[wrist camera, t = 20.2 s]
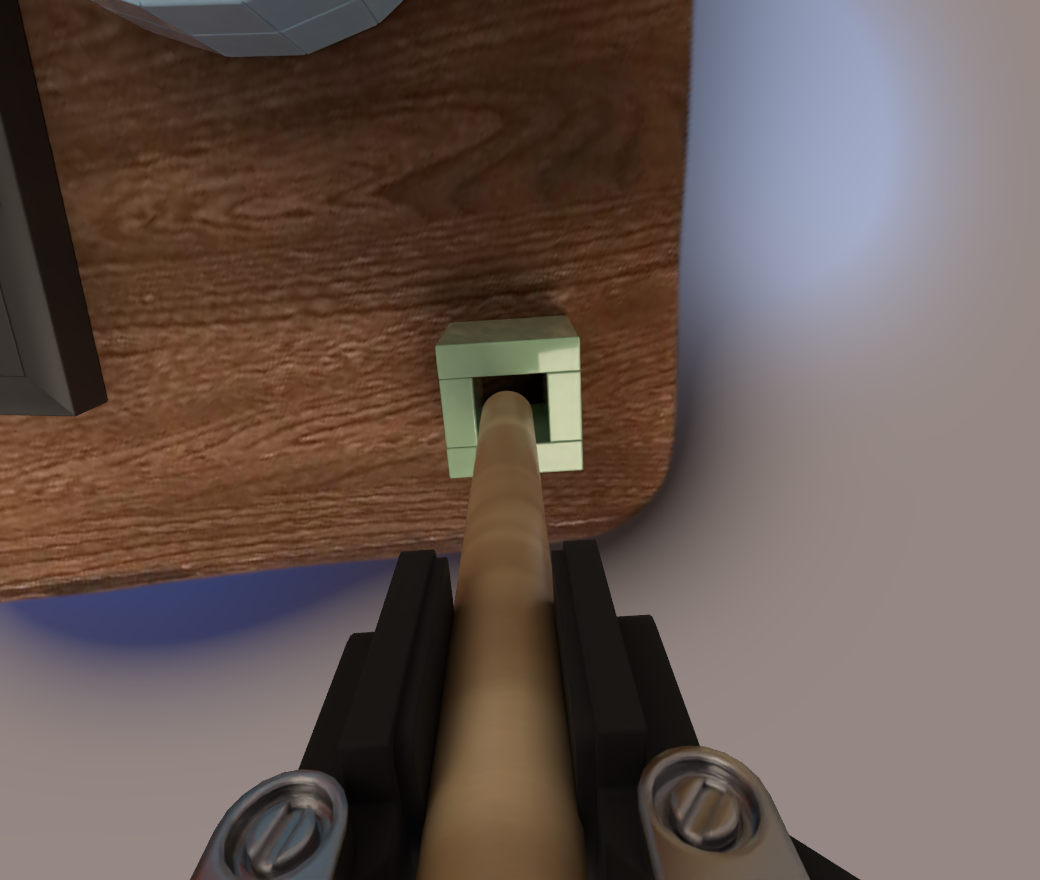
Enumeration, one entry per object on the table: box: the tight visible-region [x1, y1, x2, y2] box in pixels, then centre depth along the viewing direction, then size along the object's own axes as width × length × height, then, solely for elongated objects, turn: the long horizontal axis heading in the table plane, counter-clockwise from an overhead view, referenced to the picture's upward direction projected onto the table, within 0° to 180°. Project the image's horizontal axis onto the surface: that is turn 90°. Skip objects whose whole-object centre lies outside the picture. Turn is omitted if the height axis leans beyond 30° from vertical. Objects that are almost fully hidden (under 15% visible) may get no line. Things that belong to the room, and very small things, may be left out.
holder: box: [435, 315, 583, 478], centre depth 24 cm, size 5×5×5 cm
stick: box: [415, 391, 590, 880], centre depth 13 cm, size 2×2×17 cm
